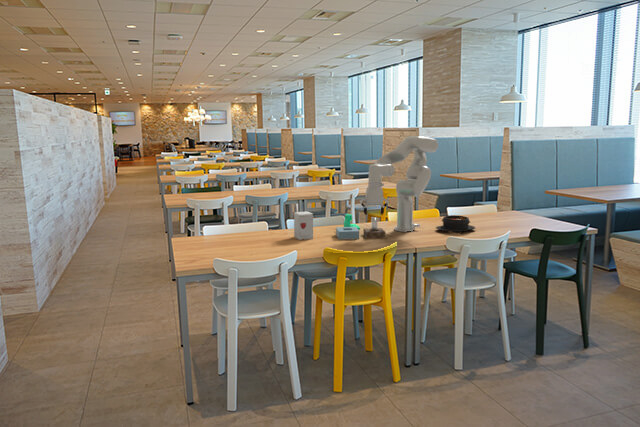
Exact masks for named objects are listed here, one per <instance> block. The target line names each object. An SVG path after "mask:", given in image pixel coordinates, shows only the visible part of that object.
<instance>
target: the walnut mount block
mask: <svg viewBox="0 0 640 427" xmlns="http://www.w3.org/2000/svg"><path fill="white" fill-rule="evenodd" d="M363 235H364V236H365V238H366V239H386V231H385V229H383V228H381V227H377V231H372V227H370V228H367V227H366V228H363Z"/></svg>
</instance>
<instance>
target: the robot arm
mask: <svg viewBox="0 0 640 427" xmlns="http://www.w3.org/2000/svg"><path fill="white" fill-rule="evenodd" d="M438 149H439V142H438V140H437V139H435V138H433V137H432V138H431V137H426V136H420V135H418V136H415V135H413V136H412V135H409V136H406V137H405V138H404V139H403V140H401V142H400V143H399V144H398V145H397V146H396V147H395V148H394V149H393V150H391V151H389V152H386V153H385V154H384V155H382V156H380V157H378V159H377V160H376V161H375V162H374V163H372V164H370V165H369V166H368V185H367V186H368V187H366V189H365V197H363V198H361V199H359V203H360V205H361V206H362V207H363V214H364V215H366V216H367V214H368V209H367V207H368V206H380V215H381V216H383V215H384V213H385V208H386V207H387V206H388V204H389V202H390V201H389V199H387V198H385V197H384V190H383V187H384V185H385V184H384V183H383V182H382V178H383V177H386V178H387V177H388V178H389V177H391V176H393V175H394V174H395V167H394V165H393V164H398V163H400V162H403V161H405V160H406V158H407V157H408V156H409V155H410V154H411V153H412V152H413V153H414V154H413V155H414V156H413V159H412V161H411V164H410V165H409V167H408V168H407V170H406V173H405V177H406V179H400V180H398V181H397V183H396V185H395V186H396V187H395V189H396V190H395V191H396V196H397V205H396V206H397V208H396V213H397V214H396V226H395V227H394V231H395V232H401V233H402V232H403V233H408V232H407V231H411V232H414V231H415V228H420V227H421V224H420V223H414V222H413V221H414V220H413V218H414V217H413V215H414V212H413V211H414V200H413V197H416V198H417V197H421V195H422V194H423V193H424V191H425V189H426V188H427V186H428V184H429V182H430V180H431V177H432V171H431V168H430V167H428V166H427V163H428V158H427V155H426V153H429V154H430V153H435V152H436V151H437V150H438ZM363 202H364V203H363ZM384 202H385V203H384ZM413 230H414V231H413Z"/></svg>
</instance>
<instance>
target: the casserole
mask: <svg viewBox="0 0 640 427" xmlns="http://www.w3.org/2000/svg"><path fill="white" fill-rule="evenodd" d="M441 222H442V225H437V226H436V227H435V228H436V230H439V231H442V232H443V231H445V232H449V231H452V232H451V233H464V232H463V231H465V232H468V231H471V230H475V229H476V227H475V226H474V225H470V222H471V220H470V219H469V217H467V216H465V215H457V214H456V215H453V214H451V215H450V214H449V215H445V216H443V218H442V219H441Z"/></svg>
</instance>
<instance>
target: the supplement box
mask: <svg viewBox="0 0 640 427" xmlns="http://www.w3.org/2000/svg"><path fill="white" fill-rule="evenodd" d="M293 218H294V219H293V221H294V222H293V227H294V228H293V237H294V238H295V239H297V240H299V241H300V240H301V241H302V239H304V240H311V239H314V213H312V212H311V211H295V212H293Z"/></svg>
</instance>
